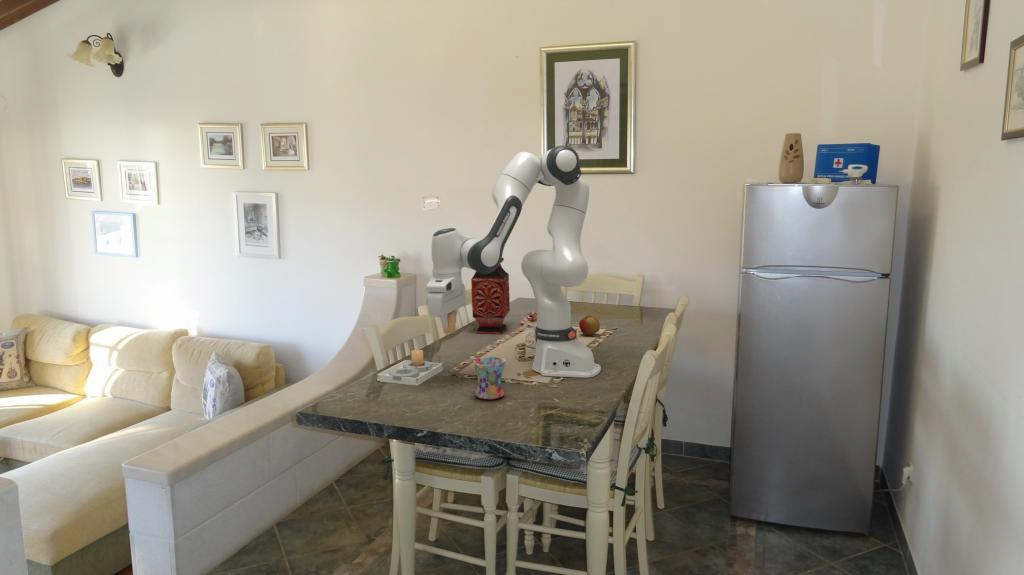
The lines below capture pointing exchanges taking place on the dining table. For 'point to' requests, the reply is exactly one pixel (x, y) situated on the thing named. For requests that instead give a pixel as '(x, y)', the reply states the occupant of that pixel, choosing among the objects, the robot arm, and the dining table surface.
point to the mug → (489, 377)
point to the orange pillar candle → (450, 324)
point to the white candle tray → (411, 370)
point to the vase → (491, 300)
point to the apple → (589, 325)
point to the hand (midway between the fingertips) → (449, 325)
